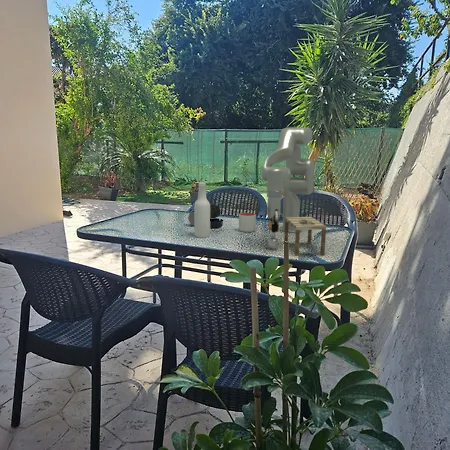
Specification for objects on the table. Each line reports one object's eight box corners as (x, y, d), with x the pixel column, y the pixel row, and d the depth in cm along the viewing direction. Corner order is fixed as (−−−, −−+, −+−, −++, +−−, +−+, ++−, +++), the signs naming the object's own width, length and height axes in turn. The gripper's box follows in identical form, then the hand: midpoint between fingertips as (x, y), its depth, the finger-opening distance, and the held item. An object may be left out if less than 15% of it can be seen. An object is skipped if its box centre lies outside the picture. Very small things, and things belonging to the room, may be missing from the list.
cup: (244, 228, 243) (244, 212, 241) (258, 230, 237) (259, 214, 235) (235, 231, 235) (235, 214, 233) (249, 233, 230) (250, 216, 227)
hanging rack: (284, 243, 209) (285, 217, 206) (310, 243, 210) (311, 216, 207) (295, 255, 187) (296, 226, 184) (324, 255, 189) (326, 226, 186)
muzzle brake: (221, 219, 268) (221, 204, 265) (200, 228, 243) (200, 211, 241) (208, 218, 272) (208, 203, 269) (187, 226, 247) (186, 210, 245)
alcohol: (212, 237, 220) (212, 183, 214) (197, 238, 218) (196, 183, 211) (207, 233, 229) (207, 181, 222) (192, 234, 226) (192, 182, 219)
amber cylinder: (266, 247, 201) (267, 220, 198) (276, 247, 202) (277, 220, 199) (268, 250, 196) (269, 222, 193) (278, 249, 197) (279, 222, 194)
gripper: (263, 191, 201) (262, 226, 205) (270, 196, 185) (269, 234, 188) (278, 191, 202) (277, 226, 206) (286, 196, 185) (285, 234, 189)
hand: (273, 230), depth 197 cm, fingers closed on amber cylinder, 5 cm apart
